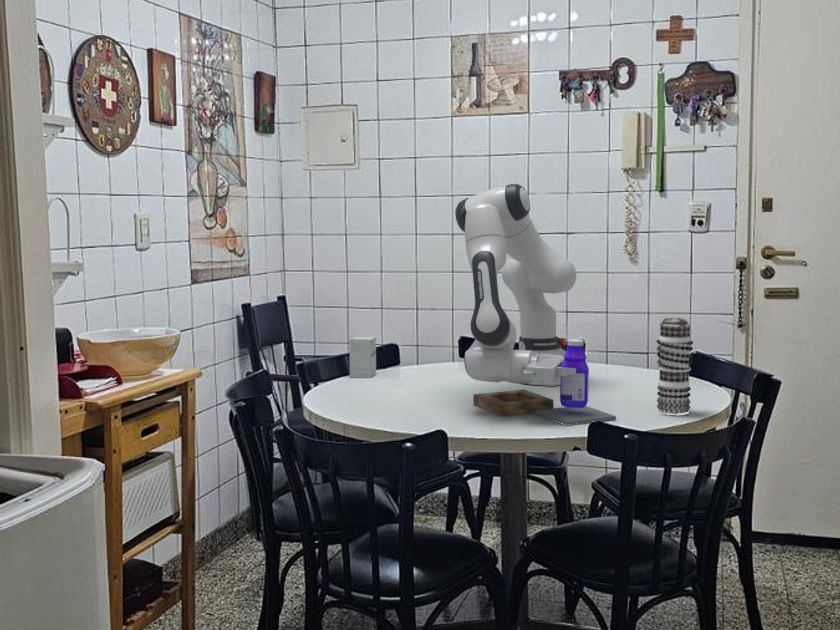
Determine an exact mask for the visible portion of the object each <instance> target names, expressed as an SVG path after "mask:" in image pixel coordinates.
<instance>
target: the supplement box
mask: <svg viewBox="0 0 840 630" xmlns="http://www.w3.org/2000/svg"><path fill="white" fill-rule="evenodd" d="M348 340H349V341H348V343H349V347H348V348H349V378H356V379H357V378H358V379H359V378H360V379H361V378H362V379H363V378H364V379H371V378H372V377H373V376H375V375H377V339H376V336H354V337H352V338H350V339H348Z"/></svg>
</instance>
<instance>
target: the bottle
mask: <svg viewBox="0 0 840 630" xmlns="http://www.w3.org/2000/svg"><path fill="white" fill-rule="evenodd" d="M567 341H568V342H567V343H566V345H567V346H566V350H565V352H566V353H565V355H564V358H565V360H564V362H563V364H562V368H570V367H572V368H576V369H577V373H576V375H567V376H561V381H560V385H559V386H560V388H559V392H560V393H559V401H560V404H561V405H560V406H562V407H573V408H583V407H585V406H587V404H588V402H589V384H590V383H589V381H590V380H589V379H590V377H589V376H590V375H589V374H590V372H589V371H590V370H589V369H590V368H589V365H588V363H587V361H586V359H587V356H586V353H585V349H584V340H583V339H577V338H572V339H571V338H570V339H567Z"/></svg>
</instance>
